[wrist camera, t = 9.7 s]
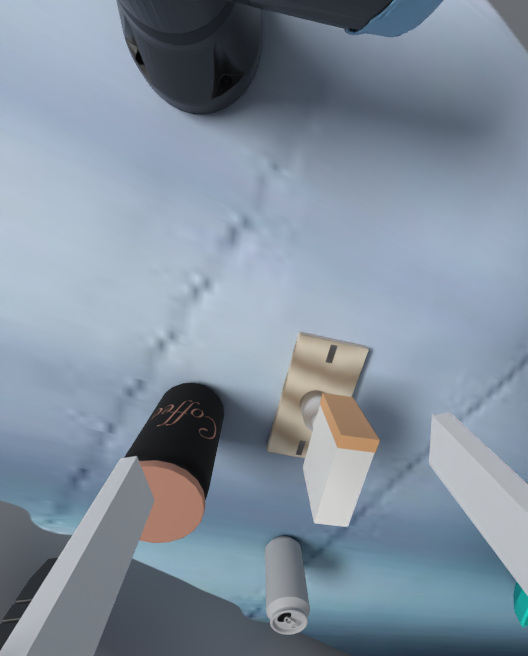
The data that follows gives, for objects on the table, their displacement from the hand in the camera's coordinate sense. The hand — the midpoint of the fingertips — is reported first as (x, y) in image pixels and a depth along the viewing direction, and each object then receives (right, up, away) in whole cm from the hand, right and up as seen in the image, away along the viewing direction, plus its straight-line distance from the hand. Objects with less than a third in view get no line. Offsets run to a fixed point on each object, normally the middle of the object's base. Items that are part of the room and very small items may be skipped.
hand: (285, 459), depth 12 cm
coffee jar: (-13, -8, +33) cm, 36 cm away
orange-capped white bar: (+8, -8, +27) cm, 30 cm away
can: (+3, -39, +43) cm, 59 cm away
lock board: (+7, -6, +33) cm, 34 cm away
